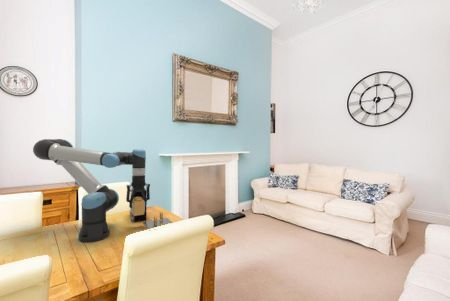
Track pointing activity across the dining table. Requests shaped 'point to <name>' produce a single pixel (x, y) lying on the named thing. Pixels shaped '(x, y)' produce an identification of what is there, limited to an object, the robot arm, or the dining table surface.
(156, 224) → the amber glass cylinder
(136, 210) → the cube with dome knob
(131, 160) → the robot arm
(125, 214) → the dining table surface
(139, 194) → the electrical component
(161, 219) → the brass rounded peg
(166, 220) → the plate
